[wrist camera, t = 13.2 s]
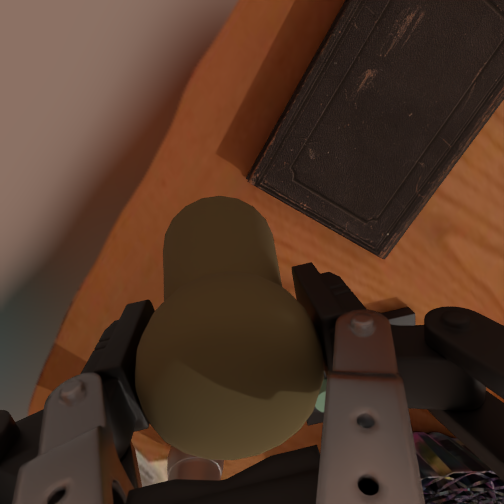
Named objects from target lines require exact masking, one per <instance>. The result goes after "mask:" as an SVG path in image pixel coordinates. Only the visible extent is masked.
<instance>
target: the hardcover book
mask: <svg viewBox="0 0 504 504" xmlns="http://www.w3.org/2000/svg"><path fill="white" fill-rule="evenodd" d="M503 100H504V0H345V2H344V4H343V6H342V7H341V9H340V11H339V13H338V15H337V16H336V18H335V20H334V22H333V24H332V25H331V27H330V29H329V31H328V32H327V34H326V36H325V38H324V40H323V41H322V43H321V45H320V47H319V49H318V50H317V52H316V54H315V56H314V57H313V59H312V61H311V63H310V65H309V66H308V68H307V70H306V72H305V74H304V75H303V77H302V79H301V81H300V83H299V84H298V86H297V88H296V90H295V91H294V93H293V95H292V97H291V99H290V100H289V102H288V104H287V106H286V108H285V109H284V111H283V113H282V115H281V116H280V118H279V120H278V122H277V124H276V125H275V127H274V129H273V131H272V133H271V134H270V136H269V138H268V140H267V142H266V143H265V145H264V147H263V149H262V150H261V152H260V154H259V156H258V158H257V159H256V161H255V163H254V165H253V167H252V168H251V170H250V172H249V174H248V175H247V177H246V179H248V182H249V183H251V184H252V185H254V186H256V187H258V188H259V189H261V190H263V191H265V192H266V193H268V194H270V195H272V196H273V197H275V198H277V199H279V200H280V201H282V202H284V203H286V204H287V205H289V206H291V207H293V208H294V209H296V210H298V211H300V212H301V213H303V214H305V215H307V216H308V217H310V218H312V219H314V220H315V221H317V222H319V223H321V224H322V225H324V226H326V227H328V228H329V229H331V230H333V231H335V232H336V233H338V234H340V235H342V236H343V237H345V238H347V239H349V240H350V241H352V242H354V243H356V244H357V245H359V246H361V247H363V248H364V249H366V250H368V251H370V252H371V253H373V254H375V255H377V256H378V257H380V258H382V259H385V258H386V257H387V256H388V254H389V253H390V252H391V250H392V249H393V248H394V246H395V245H396V244H397V242H398V241H399V240H400V238H401V237H402V236H403V234H404V233H405V232H406V230H407V229H408V228H409V226H410V225H411V223H412V222H413V221H414V219H415V218H416V217H417V215H418V214H419V213H420V211H421V210H422V209H423V207H424V206H425V205H426V203H427V202H428V201H429V199H430V198H431V197H432V195H433V194H434V193H435V191H436V190H437V188H438V187H439V186H440V184H441V183H442V182H443V180H444V179H445V178H446V176H447V175H448V174H449V172H450V171H451V170H452V168H453V167H454V166H455V164H456V163H457V162H458V160H459V159H460V158H461V156H462V155H463V153H464V152H465V151H466V149H467V148H468V147H469V145H470V144H471V143H472V141H473V140H474V139H475V137H476V136H477V135H478V133H479V132H480V131H481V129H482V128H483V127H484V125H485V124H486V123H487V121H488V120H489V118H490V117H491V116H492V114H493V113H494V112H495V110H496V109H497V108H498V106H499V105H500V104H501V102H502V101H503Z"/></svg>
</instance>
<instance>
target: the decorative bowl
mask: <svg viewBox="0 0 504 504" xmlns="http://www.w3.org/2000/svg"><path fill="white" fill-rule="evenodd" d="M413 438H414V444H415V449H416V455H417V460H418V466H419V471H420V477H421V482H422V488H423V493H424V499H425V504H504V481H503V480H502V479H501V478H499V477H498V476H497V475H496V474H495V473H494V472H493V471H492V470H491V469H490V468H489V467H488V466H487V465H486V464H485V463H483V462H482V461H481V460H480V459H479V458H478V457H477V456H476V455H475V454H474V453H473V452H472V451H471V450H470V449H468V448H467V447H466V446H465V445H464V444H463V443H462V442H461V441H460V440H459V439H458V438H450V437H448V436H446V435H444V434H441V433H439V432H432V433H429V434H426V433H424V432H414V433H413Z"/></svg>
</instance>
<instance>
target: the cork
mask: <svg viewBox="0 0 504 504" xmlns="http://www.w3.org/2000/svg"><path fill="white" fill-rule="evenodd" d="M163 266H164V302H163V303H162V304H161V305H160V306H159V307H158V309H157V310H156V311H155V312H154V313H153V315H152V317H151V319H150V321H149V323H148V325H147V327H146V328H145V330H144V332H143V334H142V336H141V339H140V342H139V345H138V348H137V355H136V366H135V388H136V392H137V395H138V398H139V401H140V405H141V408H142V411H143V413H144V415H145V416H146V418H147V420H148V421H149V423H150V424H151V425H152V427H153V428H154V429H155V430H156V431H157V433H158V434H159V435H160V436H161V437H162V439H163V440H164V441H165V442H167V443H169V444H170V445H172V446H173V447H175V448H177V449H178V450H180V451H182V452H183V453H186V454H189V455H193V456H197V457H201V458H204V459H208V460H236V459H241V458H246V457H251V456H256V455H259V454H261V453H264V452H266V451H268V450H270V449H272V448H275V447H277V446H279V445H281V444H282V443H284V442H285V441H286V440H287V439H289V438H290V437H291V436H292V435H294V434H295V433H296V432H298V431H299V430H300V429H301V427H302V426H303V425H304V423H305V422H306V421H307V419H308V418H309V416H310V415H311V414H312V412H313V410H314V407H315V404H316V401H317V398H318V395H319V392H320V389H321V386H322V383H323V380H324V364H323V351H322V344H321V341H320V337H319V335H318V333H317V331H316V329H315V326H314V324H313V322H312V320H311V318H310V316H309V315H308V313H307V311H306V309H305V308H304V307H303V306H302V305H301V304H300V303H299V302H298V301H297V300H296V299H295V298H294V297H293V296H292V295H291V294H290V293H289V292H288V291H287V290H285V289H284V288H283V287H282V283H281V278H280V273H279V267H278V262H277V256H276V251H275V245H274V240H273V234H272V232H271V230H270V228H269V226H268V224H267V221H266V219H265V218H264V217H263V216H262V215H261V214H260V213H259V212H258V211H257V210H256V209H255V208H254V207H253V206H251V205H249V204H247V203H245V202H243V201H241V200H239V199H236V198H230V197H224V196H215V197H209V198H202V199H200V200H198V201H196V202H194V203H192V204H190V205H188V206H186V207H184V208H183V209H182V210H181V211H180V212H179V213H178V214H177V215H176V216H175V217H174V218H173V220H172V222H171V224H170V226H169V228H168V230H167V232H166V234H165V240H164V249H163Z"/></svg>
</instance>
